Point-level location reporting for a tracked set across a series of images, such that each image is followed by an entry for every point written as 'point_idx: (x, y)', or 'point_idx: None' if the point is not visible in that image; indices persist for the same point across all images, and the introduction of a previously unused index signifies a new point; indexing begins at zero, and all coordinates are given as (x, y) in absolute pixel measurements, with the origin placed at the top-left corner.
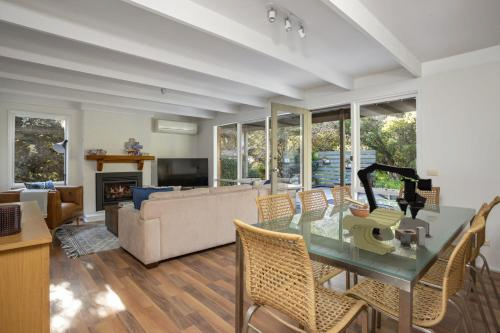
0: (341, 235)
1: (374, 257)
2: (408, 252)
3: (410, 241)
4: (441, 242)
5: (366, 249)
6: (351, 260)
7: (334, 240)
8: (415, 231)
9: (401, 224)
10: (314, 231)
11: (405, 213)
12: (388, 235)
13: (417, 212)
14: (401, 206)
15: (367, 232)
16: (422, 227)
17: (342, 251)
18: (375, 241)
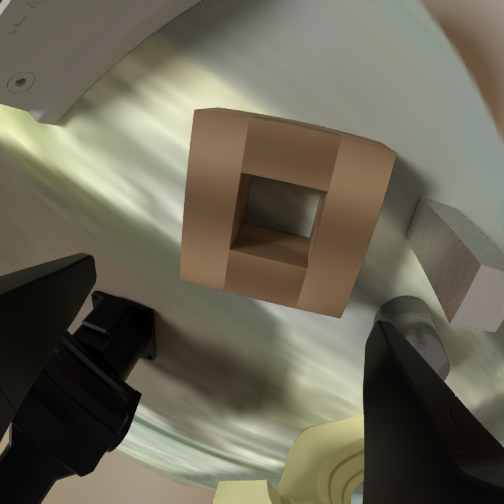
0: (195, 444)
1: None
2: (477, 371)
3: (435, 326)
4: (412, 6)
5: None
6: None
7: (257, 476)
8: (275, 137)
9: (22, 97)
10: (153, 462)
11: (70, 278)
12: (184, 281)
13: (472, 428)
14: (4, 408)
15: (334, 493)
16: (495, 277)
17: (360, 490)
18: (358, 450)
